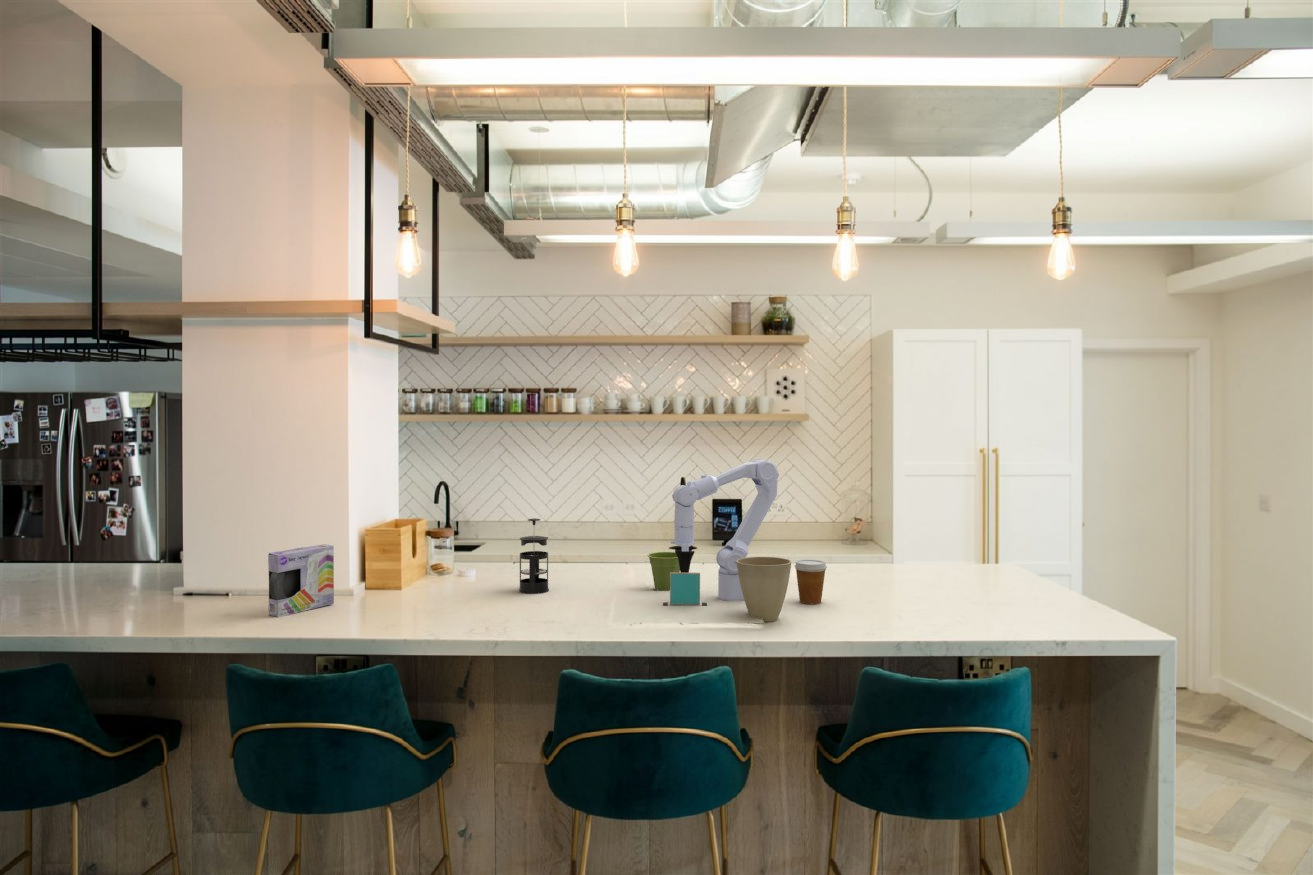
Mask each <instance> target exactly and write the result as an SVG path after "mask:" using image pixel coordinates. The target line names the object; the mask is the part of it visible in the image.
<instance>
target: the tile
mask: <svg viewBox="0 0 1313 875" xmlns="http://www.w3.org/2000/svg"><path fill="white" fill-rule="evenodd" d="M669 605H701V572H692V571H691V572H690V571H689V572H670V591H669Z"/></svg>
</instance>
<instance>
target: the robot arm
mask: <svg viewBox="0 0 1313 875" xmlns="http://www.w3.org/2000/svg"><path fill="white" fill-rule="evenodd" d="M779 477H780V474H779V471H778V468H777V466H776V465H775V463H774V462H773V461H772V460H762V459H753V460H751V461H747V462H744V463H741V464H739V465H737V466H735V467H732V468H730V469H729V470H726V471H724V472H722V473H720V474H718V475H716V476H713V475H711V474H707V475H706V474H702V475H700V478H698V479H695V480H693V481H690V480H689V481H687V482H686V485H684V484H682V485H678V486H677V487H675V489H674V491H673V493H672V495H671V497H672V499H673V501H674V540H670V544H672V545H675V546H674V552H675V553H676V555H677V557H678V561H679V567H680V572H690V567H691V562H692V559H693V556H694V554H695V550H693V548H694V545H695V510H694V508H695V506H694V505H695V503H696V502H697V501H699V500H703V499H704V498H707V497H710V496H711V495H713V494H716V493H718V490H719V488H720V487H722V486H724V485H728V484H729V483H732V482H735V481H737V480H741V479H743V478H746V479H751V481H753V483H754V486H755V488H756V491H757V494H756V495H755V496H756V497H754V500H753V501H752V503H751V505H750V506H749V509H748V511H747V512H746V513H745V515H744V517H743V519H742V521H741V522H740V524H739V526H738V528H737V529H736V531H735V533H734V535H733V537H731V539H729V540H728V541H727V542H726V544H725V545H724V547H723V548H721V549H719V550H718V552H717V553H716V557H715V558H716V559H715V560H716V564H717V565H718V566H719V568H718V571H717V572H718V578H717V579H718V590H717V591H718V592H717V594H718V596H717V598H718V600H721V601H744V597H743V594H742V590H741V585H740V581H739V575H738V569H737V562H736V561H737V560H738V559H741V558H747V557H748V555H749V546H750V544H751V542H752V540H753V539H754V537H755V535H756V533H757V532H758V530H759V528H760V526H761V524H762V522H763V521H764V519H765V518H766V515H767V514H768V512H769V510H770V508H771V506H772V505H773V503H774V501H775V500H776V498H777V495H778V479H779Z"/></svg>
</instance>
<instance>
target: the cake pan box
mask: <svg viewBox="0 0 1313 875" xmlns="http://www.w3.org/2000/svg"><path fill="white" fill-rule="evenodd" d="M334 546H335V545H330V544H326V543H323V544H317V545H310V546H302V547H295V548H290V549H285V550H280V551H279V550H278V551H273V552H268V554H267V557H268V560H267V561H268V616H270V617H271V616H272V617H276V618H281V617H285V616H289V615H293V614H297V613H298V614H299V613H302V612H305V611H310V610H314V609H319V608H321V607H326V606H329V605H333V604H334V603H335V591H334V589H335V576H334V574H335V572H334V570H335V569H334V566H335V564H334V562H335V561H334V558H335V556H334V554H335V553H334V550H335V548H334Z"/></svg>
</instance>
